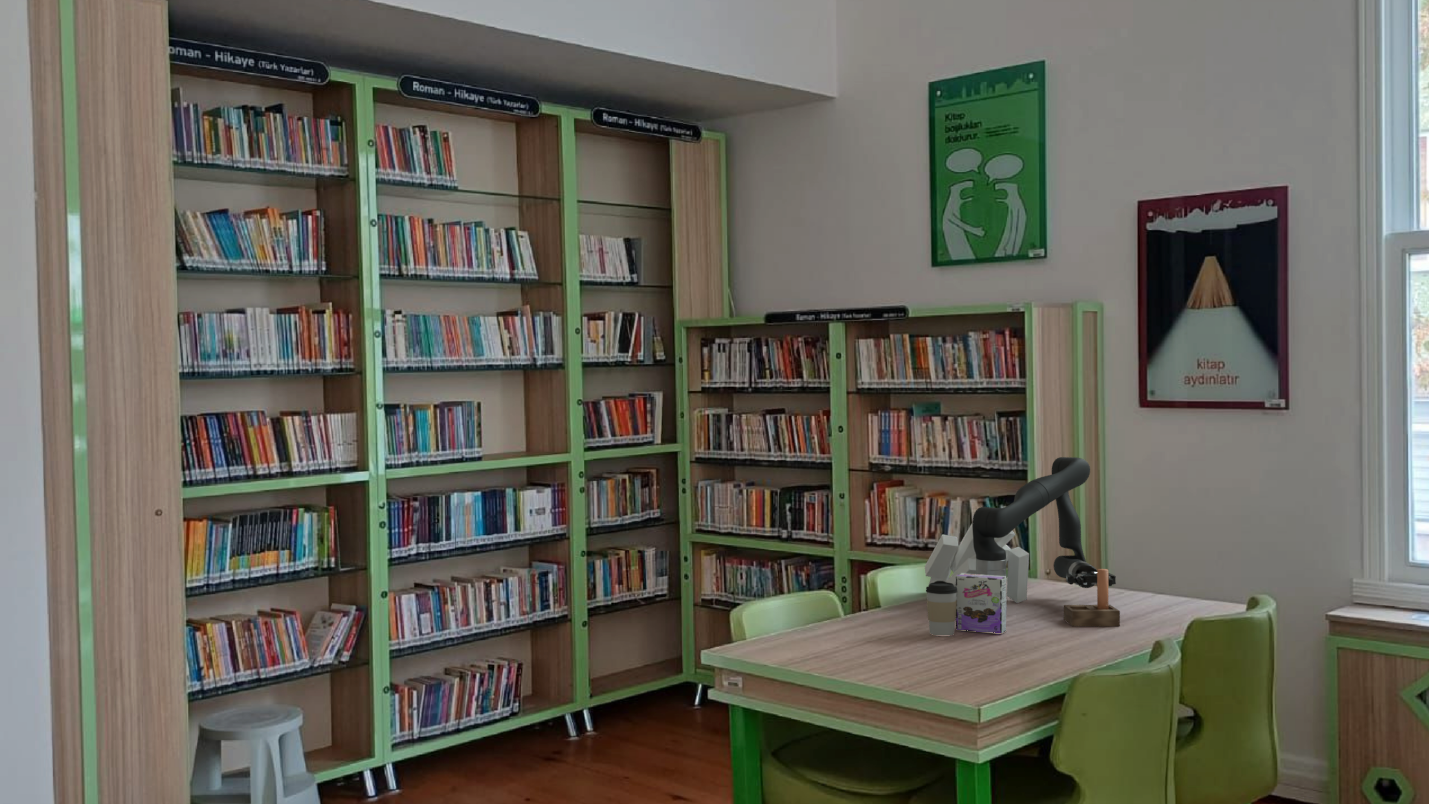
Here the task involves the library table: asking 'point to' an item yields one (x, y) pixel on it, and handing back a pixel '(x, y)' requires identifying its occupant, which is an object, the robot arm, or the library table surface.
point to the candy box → (981, 603)
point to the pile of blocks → (964, 561)
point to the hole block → (1091, 615)
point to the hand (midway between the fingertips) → (1096, 582)
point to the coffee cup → (941, 607)
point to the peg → (1102, 589)
